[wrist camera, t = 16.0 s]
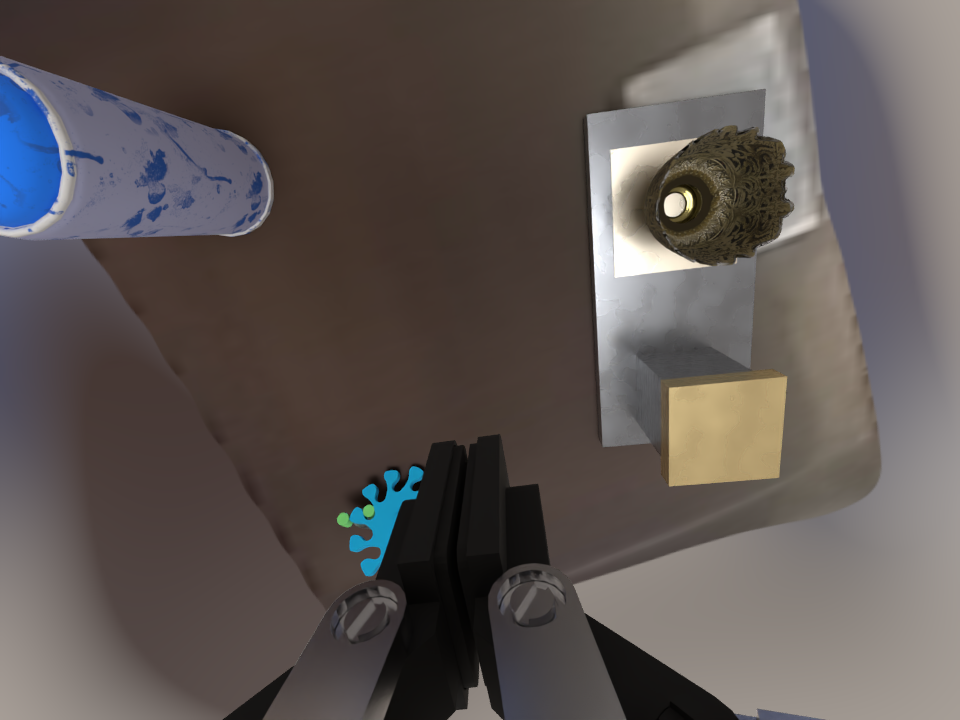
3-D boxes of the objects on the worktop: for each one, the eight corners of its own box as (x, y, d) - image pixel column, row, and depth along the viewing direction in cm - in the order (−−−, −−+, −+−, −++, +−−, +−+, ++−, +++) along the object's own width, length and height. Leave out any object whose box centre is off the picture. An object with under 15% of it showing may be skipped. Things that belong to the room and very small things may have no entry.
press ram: (632, 352, 35) (668, 387, 27) (723, 343, 34) (787, 376, 27) (634, 432, 37) (668, 486, 29) (720, 424, 36) (779, 477, 29)
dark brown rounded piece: (620, 157, 31) (658, 135, 24) (727, 141, 31) (802, 113, 23) (624, 263, 34) (660, 274, 26) (724, 250, 33) (792, 258, 25)
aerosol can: (179, 116, 34) (-247, -30, 14) (280, 146, 34) (-5, 43, 15) (171, 220, 36) (-205, 214, 17) (267, 248, 36) (4, 273, 17)
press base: (583, 119, 32) (609, 86, 25) (753, 95, 31) (835, 52, 24) (598, 439, 40) (622, 490, 32) (737, 427, 39) (795, 476, 31)
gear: (469, 472, 39) (447, 598, 35) (476, 487, 45) (457, 598, 40) (353, 455, 41) (317, 572, 37) (372, 471, 46) (343, 576, 42)
